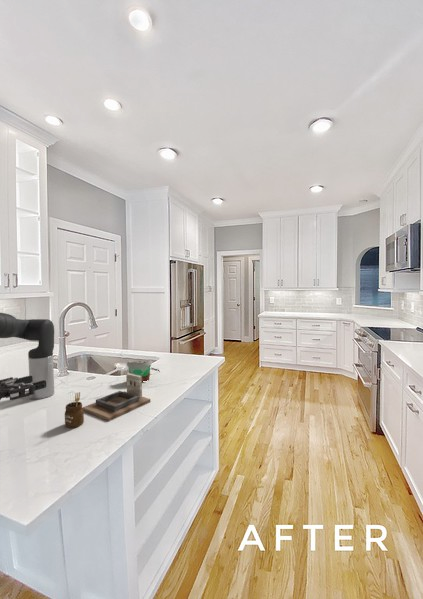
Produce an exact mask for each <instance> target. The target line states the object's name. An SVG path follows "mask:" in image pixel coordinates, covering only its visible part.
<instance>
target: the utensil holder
mask: <svg viewBox="0 0 423 599" xmlns="http://www.w3.org/2000/svg"><path fill="white" fill-rule="evenodd" d="M73 393H74V394H73ZM68 394H72V395H74V397H73V398H71V397H67V399H68V400H73V401H71V402H68V403H66V405H65V411H64V425H65V427H66V428H68V429H73V428H79V427H81V426H82V425H83V424H84V422H85V421H84V420H85V418H84V417H85V415H84V413H85V411H83V408H82V407H83V404H82V402H81V401H80V398H81V392H80V391H79V392H72V391H69V393H68Z"/></svg>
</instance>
